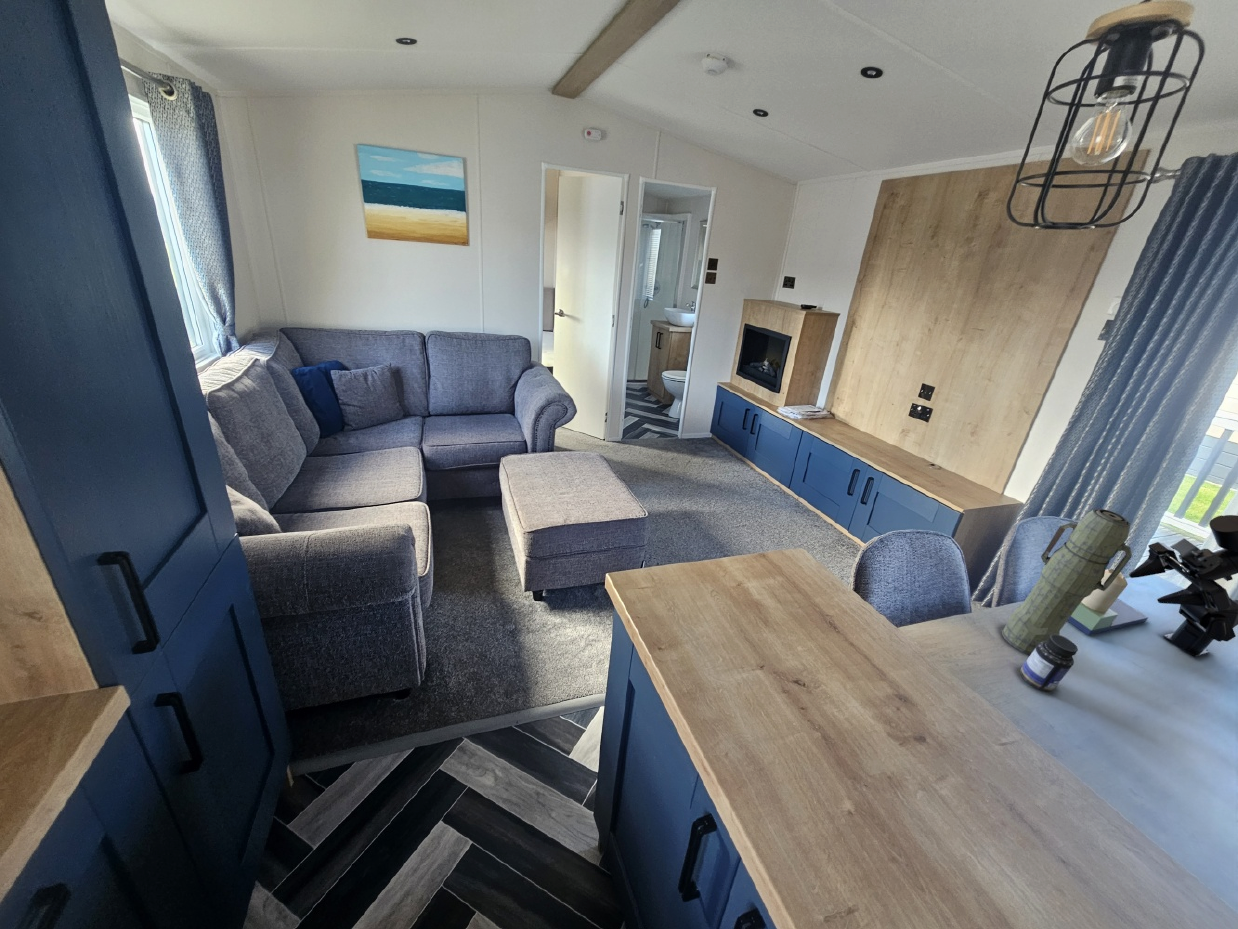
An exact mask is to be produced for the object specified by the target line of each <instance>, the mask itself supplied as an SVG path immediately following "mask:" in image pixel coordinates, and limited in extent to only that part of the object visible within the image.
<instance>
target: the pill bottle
mask: <svg viewBox="0 0 1238 929" xmlns="http://www.w3.org/2000/svg"><path fill="white" fill-rule="evenodd" d="M1078 651H1079V648H1078V646H1077V645H1076V644H1075V643H1074V642H1073V641H1072V640H1071V639H1069V638H1067V637H1066V636H1063V635H1061V634H1059V635H1057V634H1051V635H1050V636H1049V638H1048V639H1047V642H1046V641H1044V642H1040V643H1039V644H1038V645H1037V647H1036V648H1035V649H1034V651H1033V652H1032V654H1031V655H1028V657H1027V659H1026V660H1025V662H1024V663H1023V664H1022V666H1021V667H1020V669H1019V673H1020V676H1021V677H1022V679H1023V680H1024V681H1025V682H1026V683H1027V684H1029V685H1030V686H1031V687H1032V688H1035V689H1036V690H1040V691H1043V692H1053V691H1054V690H1055V689H1056V687H1057V686H1058V685H1059V684H1060V682H1061V681H1062V680H1063V679H1064V677H1065V676H1066V675H1067V673H1068V672H1069V671H1070V670H1071V669H1072V667H1073V666H1074V664H1075V659H1074V656H1075V655H1077V653H1078Z"/></svg>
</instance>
